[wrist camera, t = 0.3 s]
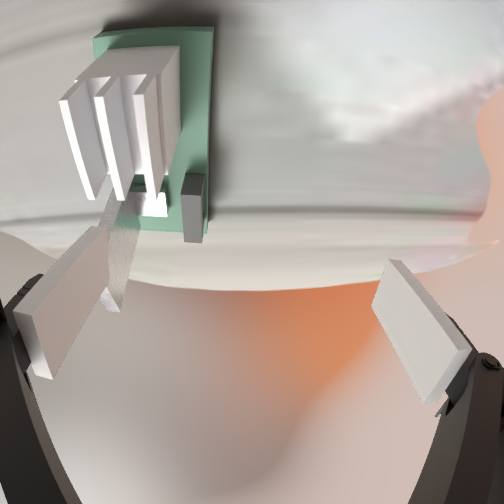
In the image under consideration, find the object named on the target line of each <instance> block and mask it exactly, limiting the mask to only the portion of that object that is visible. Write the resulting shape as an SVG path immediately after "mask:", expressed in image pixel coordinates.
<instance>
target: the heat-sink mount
mask: <svg viewBox="0 0 504 504" xmlns="http://www.w3.org/2000/svg"><path fill="white" fill-rule="evenodd" d="M92 39H93V48H94V56H95V61H94V62H93V63H92V64H91V65H90V66H89V67H88V68H87V69H86V70H85V71H84V72H83V73H81V74H80V75H79V76H78V77H77V78H76V79H75V84H74V85H73V86H72V87H71V88H70V89H69V90H68V91H67V92H66V94H65V95H64V96H63V97H62V98H61V99H60V100H59V104H60V108H61V112H62V116H63V120H64V123H65V127H66V131H67V134H68V138H69V141H70V145H71V148H72V152H73V155H74V158H75V162H76V165H77V168H78V171H79V174H80V177H81V180H82V183H83V186H84V189H85V192H86V195H87V198H88V200H95V199H96V197H97V195H98V192H99V190H100V188H101V185H102V183H103V181H104V179H105V176H106V174H110V175H111V179H112V182H113V186H114V190H115V194H116V198H117V200H120V201H125V199H126V196H127V193H128V191H129V188H130V185H131V184H146V189H147V195H148V200H149V202H157V199H158V196H159V192H160V189H161V185H167V194H168V202H169V212H168V217H160V216H138V217H139V221H140V225H141V227H140V230H149V231H167V232H184V242H191V243H202V239H203V234H207V228H208V176H209V130H210V100H211V77H212V58H213V41H214V26H168V27H148V28H134V29H124V30H115V31H106V32H101V33H99V34H98V35H97V36H95V37H94V38H92Z"/></svg>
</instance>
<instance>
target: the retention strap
mask: <svg viewBox="0 0 504 504" xmlns="http://www.w3.org/2000/svg"><path fill="white" fill-rule="evenodd" d="M168 212H169V202H168V194H167V185H161V189H160V192H159V196H158V199H157V202H149V200H148V195H147V189H146V184H131V185H130V188H129V191H128V193H127V196H126V199H125V201H120V200H117V198H116V194H115V190H114V187H113V189H112V192H111V194H110V197H109V200H108V202H107V205H106V207H105V210H104V213H103V215H102V218H101V221H100V223H99V226H98V227H106V228H107V246H108V261H109V274H110V281H109V283H108V285H107V286H106V288H105V289H104V291H103V293H102V294H101V296H100V297H99V298H100V300H101V301H102V303H103V304H104V306H105V308H106V309H107V311H116V312H121V307H122V302H123V298H124V293H125V288H126V284H127V279H128V275H129V271H130V266H131V262H132V258H133V254H134V250H135V246H136V242H137V238H138V234H139V231H140V227H141V225H140V221H139V217H138V216H160V217H168Z"/></svg>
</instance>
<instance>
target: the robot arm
mask: <svg viewBox="0 0 504 504" xmlns="http://www.w3.org/2000/svg"><path fill="white" fill-rule="evenodd" d="M109 281H110V274H109V261H108V246H107V228H106V227H97V226H91V227H90V228H89V229H88V230H87V231H86V232H85V233H84V234H83V235H82V236H81V237H80V238H79V239H78V240H77V241H76V242H75V243H74V244H73V245H72V246H71V247H70V248H69V249H68V250H67V251H66V252H65V253H64V254H63V255H62V256H61V257H60V258H59V259H58V260H57V261H56V263H54V265H53V266H52V267H51V268H50V269H49V270H48V271H47V272H46V273H45V274H38V275H36V276H35V277H33V278H31V279H29V280H28V281H27V282H26V284H25V285H24V286H23V287H22V289H20V290H19V291H18V292H17V295H15V296H14V297H13V298H12V299H11V300H10V301H9V302H8V304H7V305H6V306H5V307H4V308H3V306H2V303H1V299H0V483H1V486H2V488H3V491H4V494H5V497H6V500H7V502H8V504H82V503H81V501H80V499H79V497H78V496H77V493H76V492H75V490H74V488H73V486H72V484H71V482H70V480H69V478H68V476H67V474H66V472H65V470H64V468H63V466H62V464H61V462H60V459H59V457H58V455H57V453H56V450H55V448H54V446H53V443H52V441H51V438H50V436H49V434H48V431H47V429H46V426H45V423H44V421H43V418H42V415H41V413H40V410H39V407H38V404H37V401H36V398H35V395H34V392H33V389H32V386H31V383H30V379H29V376H28V374H27V371H26V370H27V368H28V367H29V365H30V363H31V365H32V367H33V369H34V371H35V374H36V375H38V376H42V377H45V378H49V379H52V380H54V378H55V376H56V374H57V372H58V370H59V368H60V366H61V364H62V362H63V361H64V359H65V357H66V355H67V353H68V351H69V349H70V347H71V346H72V344H73V342H74V340H75V339H76V337H77V335H78V333H79V331H80V330H81V328H82V326H83V324H84V323H85V321H86V319H87V317H88V316H89V314H90V312H91V311H92V309H93V307H94V306H95V304H96V302H97V301H98V299H99V297H100V296H101V294H102V293H103V291H104V289H105V288H106V286H107V285H108V283H109ZM371 307H372V309H373V310H374V312H375V314H376V316H377V317H378V319H379V321H380V323H381V325H382V326H383V328H384V330H385V332H386V334H387V336H388V337H389V339H390V341H391V343H392V345H393V346H394V348H395V350H396V352H397V354H398V356H399V358H400V360H401V362H402V364H403V366H404V368H405V370H406V372H407V374H408V375H409V377H410V379H411V381H412V383H413V385H414V387H415V389H416V391H417V393H418V395H419V397H420V400H421V401H422V404H427V403H433V402H438V400H439V399H440V398H441V396H442V395H443V394H444V392H445V391H446V393H447V395H448V397H449V398H448V399H447V400H446V402H445V403H444V404H443V406H442V407H441V408H440V410H439V411H438V412H437V414H436V415H435V417H438V415H439V414H441V417H440V420H439V424H438V427H437V430H436V433H435V436H434V439H433V443H432V445H431V448H430V451H429V454H428V456H427V459H426V462H425V464H424V467H423V469H422V472H421V474H420V477H419V479H418V482H417V484H416V487H415V489H414V491H413V493H412V496H411V498H410V500H409V503H408V504H504V368H503V367H502V366H501V364H500V363H499V361H498V360H497V359H496V358H495V357H494V356H491V355H490V354H488V353H478V351H477V350H476V348H475V347H474V346H473V344H472V343H471V342H470V340H469V339H468V338H467V337H466V335H464V333H463V331H462V330H461V329H460V328H459V326H458V325H457V323H456V322H455V321H454V320H453V319H452V318H451V317H450V316H448V315H447V314H446V313H445V312H444V311H443V310H442V309H441V307H440V306H439V305H438V304H437V302H436V301H435V300H434V299H433V297H432V296H431V295H430V294H429V293H428V292H427V290H426V289H425V288H424V287H423V285H422V284H421V283H420V282H419V281H418V280H417V278H416V277H415V276H414V275H413V274H412V273H411V271H410V270H409V269H408V268H407V267H406V266H405V265H404V263H403V262H402V261H401V260H393V259H388V260H387V263H386V266H385V269H384V272H383V275H382V278H381V281H380V284H379V286H378V289H377V292H376V295H375V297H374V300H373V303H372V305H371Z"/></svg>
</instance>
